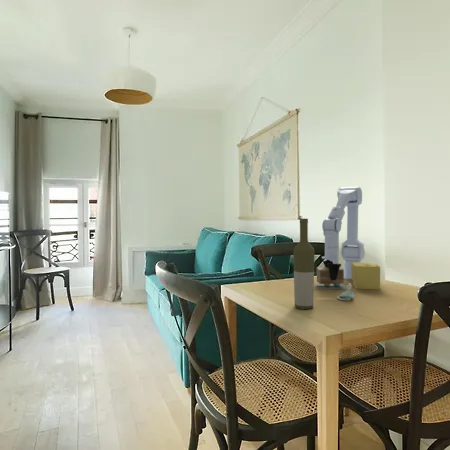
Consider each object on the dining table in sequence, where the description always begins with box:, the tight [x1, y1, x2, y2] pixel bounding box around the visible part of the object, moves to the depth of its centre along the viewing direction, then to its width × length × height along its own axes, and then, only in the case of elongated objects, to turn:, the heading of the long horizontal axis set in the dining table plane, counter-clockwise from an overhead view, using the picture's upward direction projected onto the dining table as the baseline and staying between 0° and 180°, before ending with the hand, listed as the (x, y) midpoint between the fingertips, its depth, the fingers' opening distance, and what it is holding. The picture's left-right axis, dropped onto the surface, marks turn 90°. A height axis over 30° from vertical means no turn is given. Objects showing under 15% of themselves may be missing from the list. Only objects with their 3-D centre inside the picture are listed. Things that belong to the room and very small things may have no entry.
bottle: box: [292, 218, 315, 310], centre depth 117 cm, size 7×7×30 cm
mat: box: [314, 283, 348, 290], centre depth 148 cm, size 9×13×1 cm
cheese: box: [351, 262, 381, 290], centre depth 147 cm, size 10×11×10 cm
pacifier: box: [336, 282, 355, 301], centre depth 128 cm, size 7×6×6 cm
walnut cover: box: [316, 266, 345, 284], centre depth 148 cm, size 6×10×6 cm, turn 86°
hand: (331, 278), depth 148 cm, fingers closed on walnut cover, 6 cm apart
